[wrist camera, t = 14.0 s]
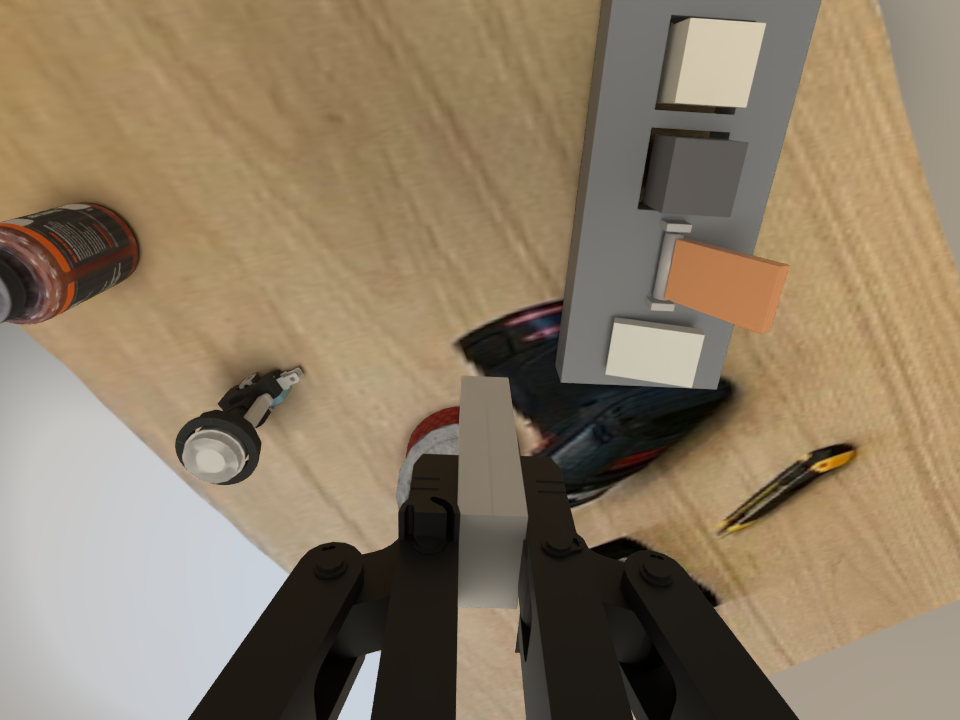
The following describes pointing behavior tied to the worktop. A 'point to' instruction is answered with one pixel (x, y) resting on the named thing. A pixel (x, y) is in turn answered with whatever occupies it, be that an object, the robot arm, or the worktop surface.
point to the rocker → (654, 352)
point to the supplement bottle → (61, 260)
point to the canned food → (429, 445)
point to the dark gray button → (694, 175)
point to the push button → (232, 430)
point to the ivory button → (710, 62)
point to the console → (620, 167)
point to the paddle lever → (720, 282)
